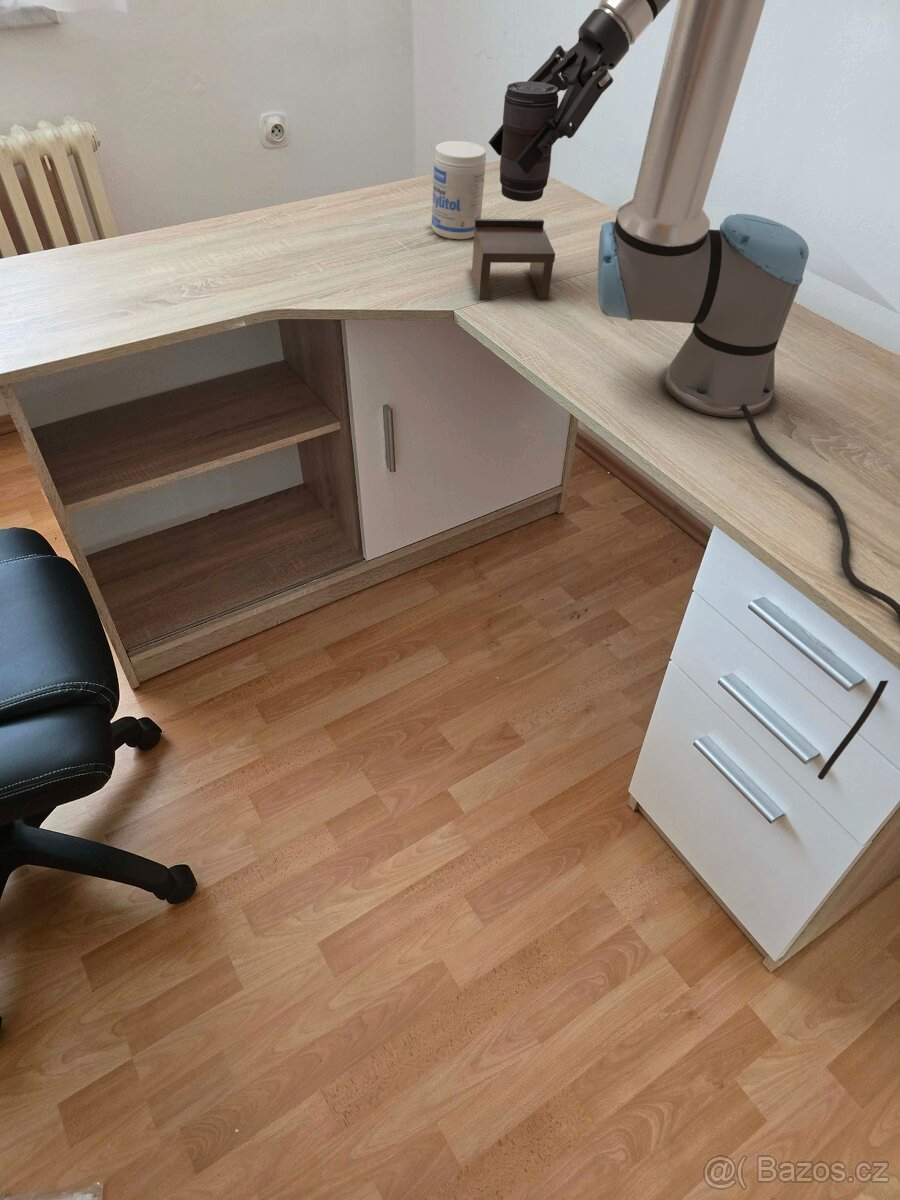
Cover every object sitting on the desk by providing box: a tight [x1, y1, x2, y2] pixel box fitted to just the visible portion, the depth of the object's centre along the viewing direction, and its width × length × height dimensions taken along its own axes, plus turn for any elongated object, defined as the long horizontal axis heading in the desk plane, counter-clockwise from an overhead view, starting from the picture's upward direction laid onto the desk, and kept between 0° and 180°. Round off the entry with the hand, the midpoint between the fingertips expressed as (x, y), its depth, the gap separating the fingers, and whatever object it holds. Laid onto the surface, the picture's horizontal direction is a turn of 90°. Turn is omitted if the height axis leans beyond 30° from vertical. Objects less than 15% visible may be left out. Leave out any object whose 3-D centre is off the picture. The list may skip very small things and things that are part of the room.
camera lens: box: [499, 80, 559, 203], centre depth 122 cm, size 8×8×15 cm
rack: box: [471, 218, 556, 301], centre depth 134 cm, size 12×12×9 cm
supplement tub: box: [431, 140, 487, 240], centre depth 148 cm, size 10×10×15 cm
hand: (507, 157), depth 122 cm, fingers closed on camera lens, 8 cm apart
